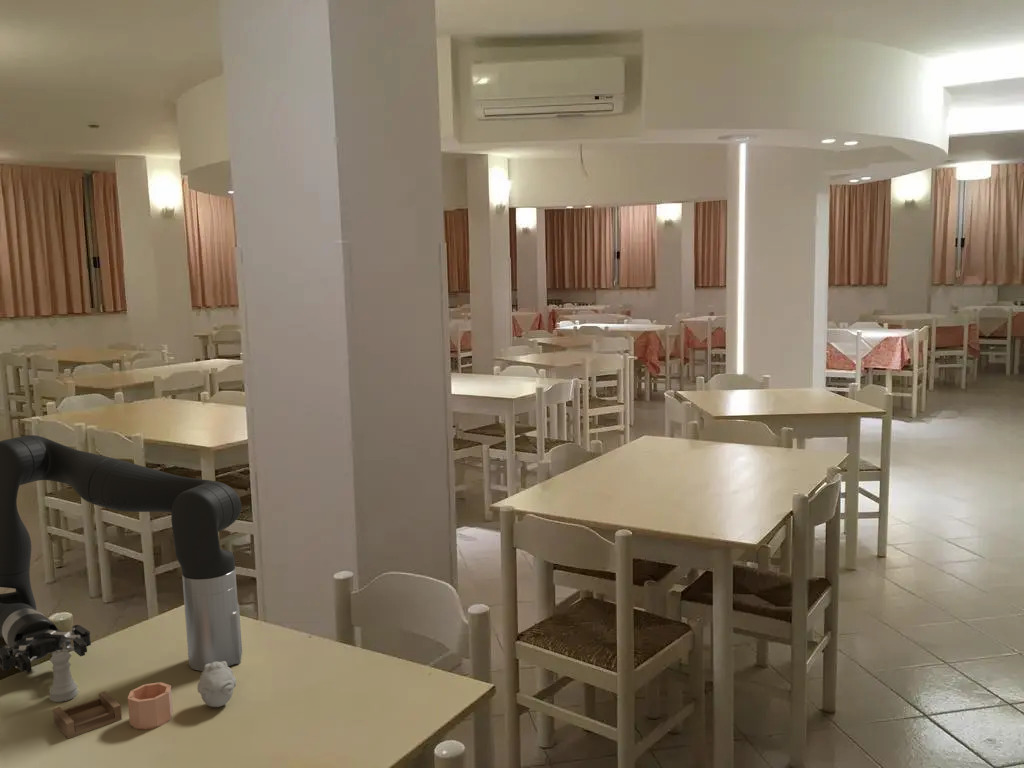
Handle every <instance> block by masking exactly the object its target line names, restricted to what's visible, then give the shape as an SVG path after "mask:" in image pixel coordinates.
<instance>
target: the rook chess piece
mask: <svg viewBox="0 0 1024 768" xmlns="http://www.w3.org/2000/svg"><path fill="white" fill-rule="evenodd" d="M71 657H72V655H71V654H70V651H68V650H66V649H63V652H61V651H60V650H57V653H56V652H53V653H52V654H51V657H50V659H49V661H50V662H51V664H52V667H51V669H52V670H53V681H52V685H51V687H50V689H49V692H48V693H49V697H48V698H49V701H52V702H53V703H64V702H63V701H65V702H68V701H71V700H73V699H74V698H76V697H77V695H78V693H79V690H78V688H79V687H78V684H77V683H76V682H75V680H74V679H73V678H72V674H71V669H70V666H71V662H70V658H71ZM75 696H76V697H75ZM72 698H73V699H72ZM70 699H71V700H70ZM67 700H68V701H67Z"/></svg>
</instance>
